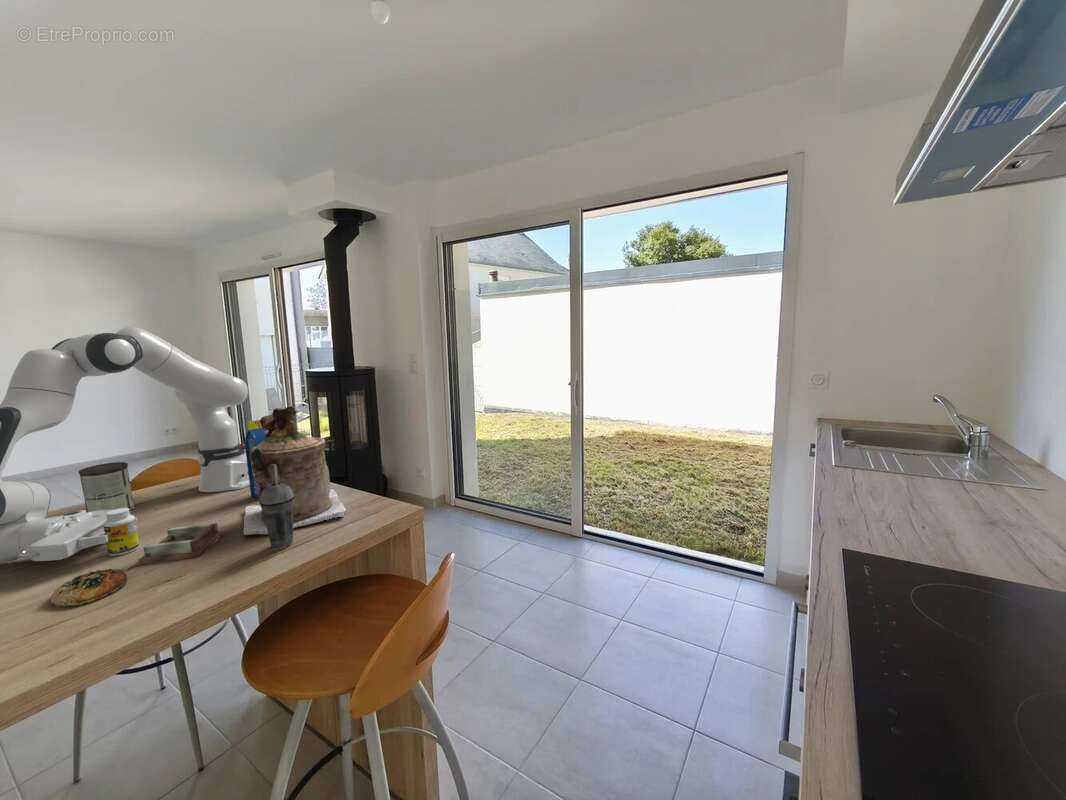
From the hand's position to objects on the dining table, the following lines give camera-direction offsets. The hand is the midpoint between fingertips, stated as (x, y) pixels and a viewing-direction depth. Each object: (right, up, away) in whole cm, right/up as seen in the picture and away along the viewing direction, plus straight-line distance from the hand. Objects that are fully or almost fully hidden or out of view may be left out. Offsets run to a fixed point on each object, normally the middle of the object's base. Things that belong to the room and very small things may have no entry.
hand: (122, 529), depth 103 cm
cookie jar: (+30, -2, +21) cm, 37 cm away
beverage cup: (+37, -5, +2) cm, 38 cm away
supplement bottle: (0, -6, +1) cm, 6 cm away
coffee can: (-28, -3, +26) cm, 38 cm away
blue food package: (+13, 0, +39) cm, 42 cm away
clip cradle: (+14, -5, +1) cm, 15 cm away
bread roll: (+9, -8, -17) cm, 21 cm away
